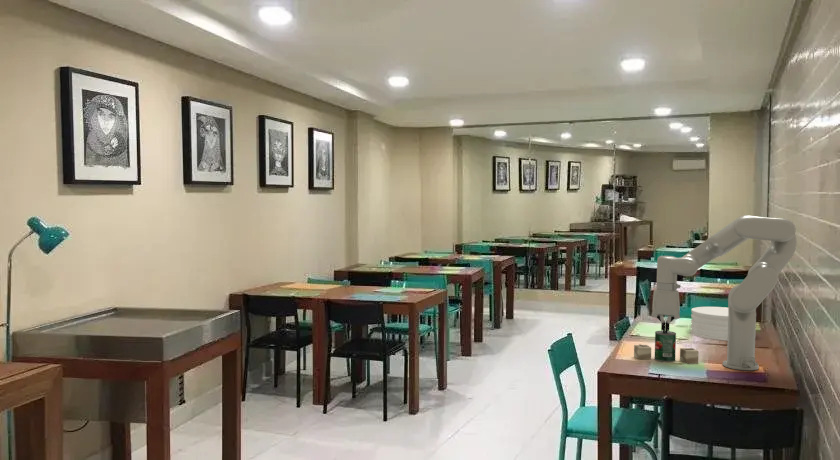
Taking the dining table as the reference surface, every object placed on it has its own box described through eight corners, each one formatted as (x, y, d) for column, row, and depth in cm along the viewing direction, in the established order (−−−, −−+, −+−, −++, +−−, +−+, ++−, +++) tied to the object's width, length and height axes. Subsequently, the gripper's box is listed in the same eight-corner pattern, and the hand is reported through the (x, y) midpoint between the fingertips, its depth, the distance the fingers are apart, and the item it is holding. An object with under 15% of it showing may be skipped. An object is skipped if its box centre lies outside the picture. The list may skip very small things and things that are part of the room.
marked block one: (698, 363, 257) (698, 350, 257) (686, 363, 256) (686, 350, 256) (691, 360, 262) (692, 347, 262) (679, 360, 261) (680, 347, 261)
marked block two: (651, 359, 262) (651, 347, 262) (639, 360, 262) (639, 347, 262) (645, 356, 267) (645, 344, 267) (633, 357, 267) (634, 344, 267)
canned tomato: (650, 358, 265) (650, 331, 264) (665, 356, 267) (666, 330, 267) (663, 362, 257) (664, 335, 257) (679, 361, 260) (680, 333, 259)
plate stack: (735, 343, 293) (736, 318, 293) (679, 333, 316) (679, 309, 315) (766, 336, 310) (767, 312, 309) (710, 327, 332) (711, 304, 332)
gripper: (686, 286, 262) (684, 332, 263) (646, 284, 267) (645, 329, 268) (687, 289, 255) (685, 335, 256) (646, 287, 260) (645, 332, 261)
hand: (665, 332), depth 262 cm, fingers closed
